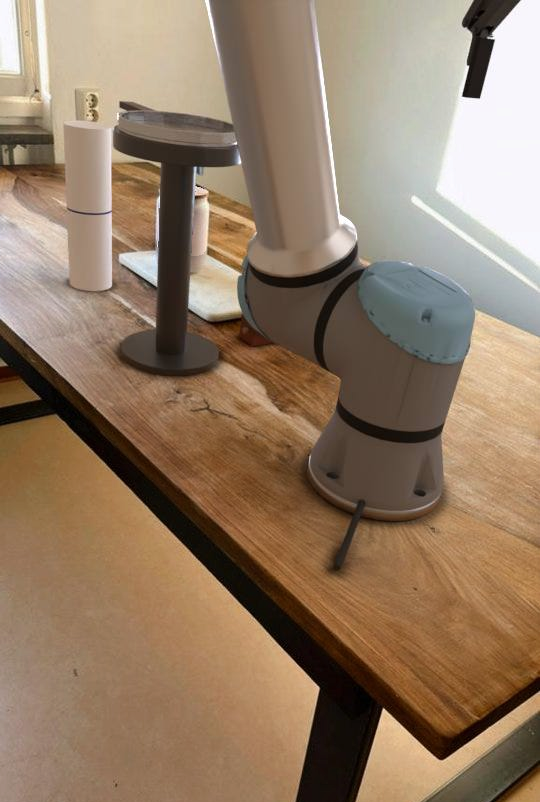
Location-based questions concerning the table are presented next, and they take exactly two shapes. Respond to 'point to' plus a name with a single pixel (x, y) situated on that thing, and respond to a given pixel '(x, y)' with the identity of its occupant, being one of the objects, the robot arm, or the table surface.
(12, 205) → the table surface
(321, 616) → the table surface
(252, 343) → the beef skewer
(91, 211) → the cylindrical container
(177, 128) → the plant stand
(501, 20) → the robot arm
